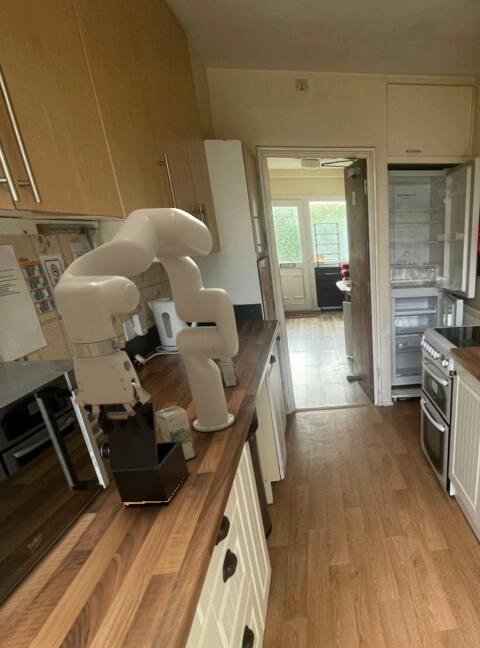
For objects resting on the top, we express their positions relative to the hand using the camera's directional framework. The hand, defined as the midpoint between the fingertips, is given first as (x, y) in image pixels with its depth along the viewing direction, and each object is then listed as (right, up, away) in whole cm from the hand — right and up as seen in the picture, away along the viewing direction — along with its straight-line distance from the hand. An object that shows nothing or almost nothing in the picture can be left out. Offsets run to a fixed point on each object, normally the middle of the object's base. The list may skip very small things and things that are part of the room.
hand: (123, 430), depth 91 cm
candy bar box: (-8, +17, +86) cm, 88 cm away
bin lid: (0, -1, +4) cm, 4 cm away
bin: (0, -15, +14) cm, 21 cm away
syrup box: (-1, -9, +29) cm, 30 cm away
